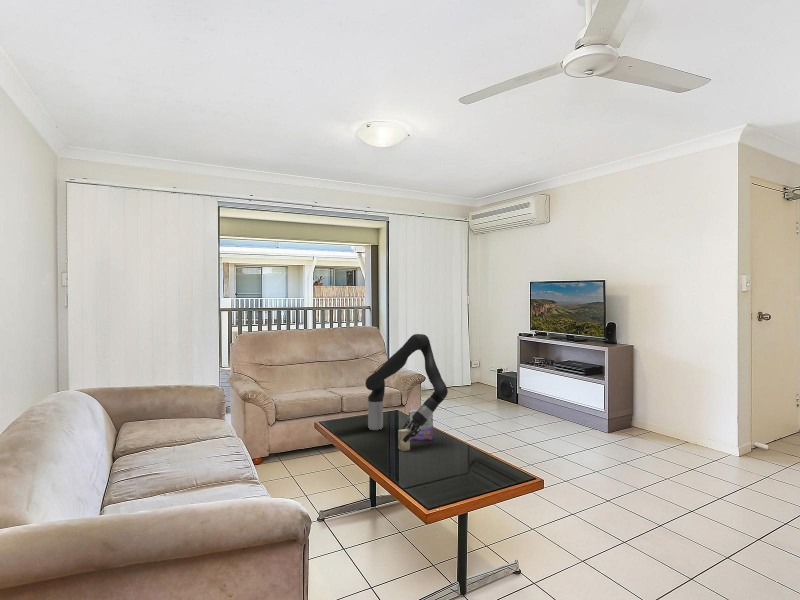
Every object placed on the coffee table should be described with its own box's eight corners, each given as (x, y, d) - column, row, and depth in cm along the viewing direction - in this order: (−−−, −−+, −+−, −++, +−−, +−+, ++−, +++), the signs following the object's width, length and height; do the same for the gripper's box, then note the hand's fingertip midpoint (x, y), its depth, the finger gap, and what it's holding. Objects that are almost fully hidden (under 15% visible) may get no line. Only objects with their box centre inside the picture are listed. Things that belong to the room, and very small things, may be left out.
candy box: (432, 437, 260) (433, 409, 260) (432, 440, 254) (432, 411, 254) (409, 436, 262) (409, 408, 262) (408, 439, 256) (408, 411, 256)
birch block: (398, 448, 241) (398, 429, 241) (406, 447, 242) (406, 428, 242) (401, 451, 236) (401, 432, 236) (409, 449, 238) (409, 431, 238)
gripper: (412, 407, 249) (392, 432, 244) (424, 413, 236) (403, 439, 231) (420, 416, 251) (401, 440, 246) (432, 422, 238) (412, 448, 233)
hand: (402, 439), depth 239 cm, fingers closed on birch block, 4 cm apart
